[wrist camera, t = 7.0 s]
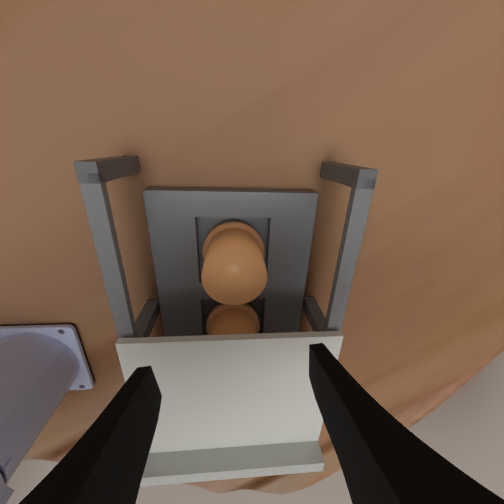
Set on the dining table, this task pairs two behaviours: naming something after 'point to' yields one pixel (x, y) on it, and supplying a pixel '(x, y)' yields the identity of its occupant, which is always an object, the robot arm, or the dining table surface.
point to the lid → (231, 404)
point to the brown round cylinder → (233, 263)
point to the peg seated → (232, 320)
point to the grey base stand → (193, 237)
